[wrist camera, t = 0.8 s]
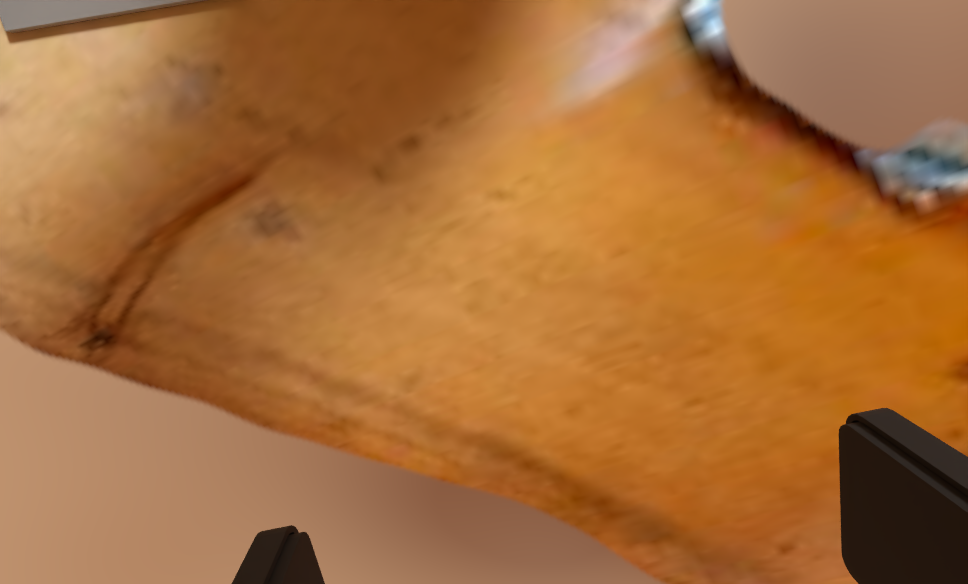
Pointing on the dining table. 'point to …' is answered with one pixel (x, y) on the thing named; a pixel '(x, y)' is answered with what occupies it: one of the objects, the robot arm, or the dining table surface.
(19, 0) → the rubber mat
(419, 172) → the dining table surface
